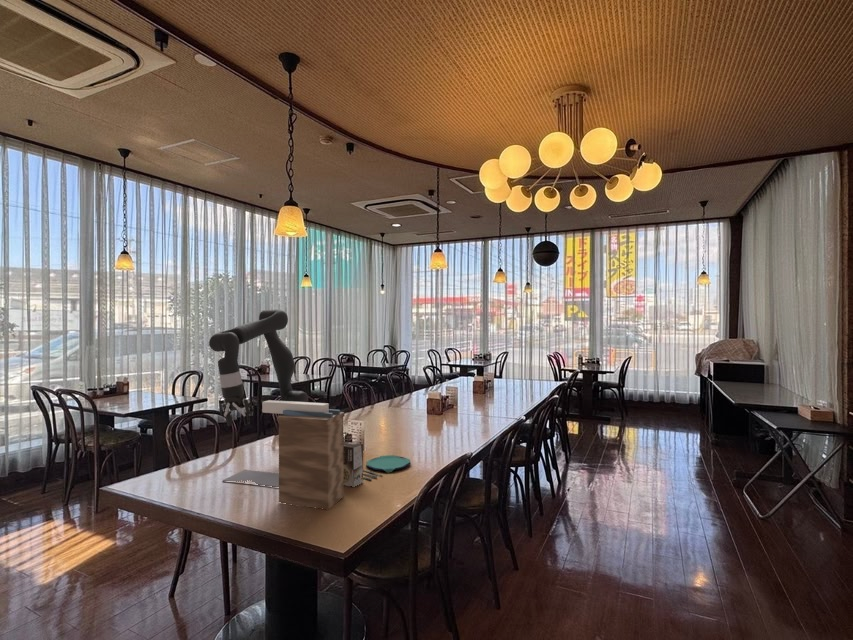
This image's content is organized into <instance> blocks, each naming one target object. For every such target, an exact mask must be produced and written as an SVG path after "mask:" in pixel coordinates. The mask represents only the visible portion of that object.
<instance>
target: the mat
mask: <svg viewBox="0 0 853 640" xmlns="http://www.w3.org/2000/svg"><path fill="white" fill-rule="evenodd" d="M222 480H223V481H236V482H237V481H238V482H239V481H240V482H241V480H242V482H243V481H244V483H245V481H246V482H247V480H248V481H249V480H250V481H251V480H252V482H255V483H256V484H258V485H265V486H272V487H279V472H270V471H260V470H251V469H244V470H241V471H239V472H237V473H235V474H233V475H231V476H229V477H226V478H225V479H222Z"/></svg>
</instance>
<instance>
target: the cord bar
mask: <svg viewBox="0 0 853 640" xmlns="http://www.w3.org/2000/svg"><path fill="white" fill-rule="evenodd" d="M261 404H262V406H261V407H262V409H261V412H262V413H264V414H265V413H266V414H268V413H269V414H280V415H283V410H292V411H308V412H325V413H329V409H330V408H329V407H330V403H326V402H312V401H311V402H309V401H308V402H293V401H282V400H271V399H268V400H265V401H262V403H261Z"/></svg>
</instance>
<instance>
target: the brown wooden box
mask: <svg viewBox="0 0 853 640" xmlns="http://www.w3.org/2000/svg"><path fill="white" fill-rule="evenodd" d="M345 414H346V413H345V411H341V410H340V409H331V408H329V413H325V412H308V411H292V410H283V414H280V415H278V416H277V417H276V421H277V422H278V473H279V488H278V503H279V502H281V503H286V504H292V505H291V506H294V505H298V506H297V507H301V506H307V507H306V508H309V507H316V508H315V509H317V508H323V509H322V510H325V509H328V510H330V509H331V508H332V507H333V506H335V505H336V504H337V503H338V502H340V499H341V498H342V499H343V498H344V485H343V443H344V417H346V415H345ZM342 499H341V500H342ZM336 502H337V503H336ZM335 503H336V504H335ZM286 504H285V505H286ZM334 504H335V505H334ZM330 507H331V508H330ZM329 508H330V509H329Z"/></svg>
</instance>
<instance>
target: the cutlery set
mask: <svg viewBox="0 0 853 640" xmlns="http://www.w3.org/2000/svg"><path fill="white" fill-rule="evenodd" d="M411 463H412V462H411V459H409V458H407V457H405V456H399V455H398V456H397V455H394V454H388V455H380V456H377V457H375V458H372V459H370V460H367V461H366V464H365V465H366V466H365V467H367V466H368V467H367V468H369V469H371V470H365V469H363V472H364V471H366V472H365V473H363V474H364V475H363V478H364V479H363V480H366V479H368V480H367V481H369V480H371V481H372V478H374V479H377V478H378V476H380V477H381V476H382V477H383V474H378V473H375V472H374V471H372V470H375V471H381V472H382V471H385V472H386V473H387V474H390V473H389V472H391V473H392V472H393V471H396V470H400V469H404V468H405V467H407V466H409V465H410V464H411ZM368 472H369V473H368ZM370 473H372V474H370ZM364 476H368V477H364ZM371 477H372V478H371Z"/></svg>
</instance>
